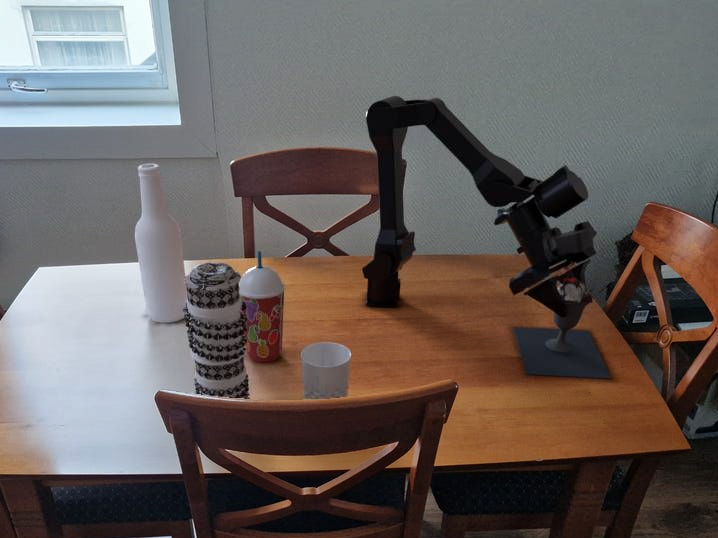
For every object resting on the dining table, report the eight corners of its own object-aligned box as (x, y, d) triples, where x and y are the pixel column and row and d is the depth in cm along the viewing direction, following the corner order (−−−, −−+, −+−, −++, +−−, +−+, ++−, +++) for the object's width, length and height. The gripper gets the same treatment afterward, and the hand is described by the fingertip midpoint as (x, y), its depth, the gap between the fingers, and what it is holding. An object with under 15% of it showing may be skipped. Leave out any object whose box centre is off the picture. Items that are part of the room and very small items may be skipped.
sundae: (534, 338, 122) (551, 262, 114) (568, 336, 123) (588, 260, 114) (548, 356, 117) (568, 277, 108) (585, 353, 117) (607, 275, 109)
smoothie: (292, 347, 124) (290, 245, 112) (277, 369, 117) (273, 263, 106) (251, 341, 126) (245, 241, 115) (234, 362, 120) (226, 258, 108)
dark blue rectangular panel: (527, 374, 114) (527, 373, 114) (513, 327, 129) (513, 327, 128) (611, 379, 112) (612, 378, 112) (587, 331, 127) (587, 330, 127)
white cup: (346, 423, 103) (348, 368, 97) (297, 418, 104) (296, 364, 99) (352, 396, 109) (354, 343, 104) (305, 392, 111) (305, 340, 105)
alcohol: (182, 302, 142) (164, 157, 125) (195, 318, 135) (178, 168, 118) (142, 310, 139) (118, 163, 122) (154, 327, 132) (130, 174, 115)
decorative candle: (210, 395, 111) (195, 253, 97) (261, 404, 108) (253, 260, 94) (186, 425, 104) (166, 276, 89) (239, 435, 101) (228, 284, 87)
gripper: (538, 220, 104) (586, 307, 103) (599, 197, 113) (643, 276, 113) (488, 254, 113) (532, 334, 112) (549, 230, 123) (589, 303, 122)
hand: (575, 310), depth 115 cm, fingers closed on sundae, 6 cm apart
